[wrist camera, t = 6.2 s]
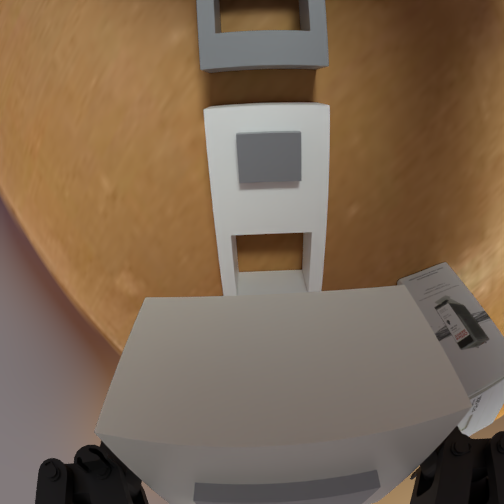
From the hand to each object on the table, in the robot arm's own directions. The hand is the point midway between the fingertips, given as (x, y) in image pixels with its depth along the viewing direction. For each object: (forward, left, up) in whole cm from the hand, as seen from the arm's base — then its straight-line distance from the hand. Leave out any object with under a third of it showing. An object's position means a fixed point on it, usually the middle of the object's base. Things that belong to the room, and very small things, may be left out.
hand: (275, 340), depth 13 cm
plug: (0, 0, 0) cm, 0 cm away
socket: (0, 0, -8) cm, 8 cm away
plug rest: (-15, 0, -8) cm, 18 cm away
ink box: (+6, +13, -9) cm, 17 cm away
